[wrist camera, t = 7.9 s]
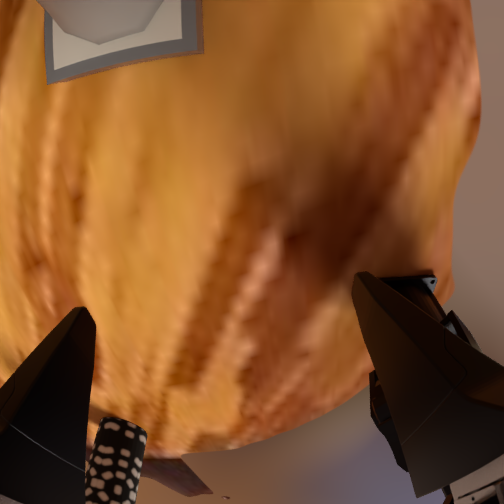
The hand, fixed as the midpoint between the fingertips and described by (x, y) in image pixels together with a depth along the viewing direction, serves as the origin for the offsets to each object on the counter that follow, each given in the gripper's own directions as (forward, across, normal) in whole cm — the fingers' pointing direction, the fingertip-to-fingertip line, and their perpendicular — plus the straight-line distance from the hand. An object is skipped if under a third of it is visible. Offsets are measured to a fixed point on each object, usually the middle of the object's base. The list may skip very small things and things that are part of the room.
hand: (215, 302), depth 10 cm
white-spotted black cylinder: (+12, +23, +40) cm, 47 cm away
